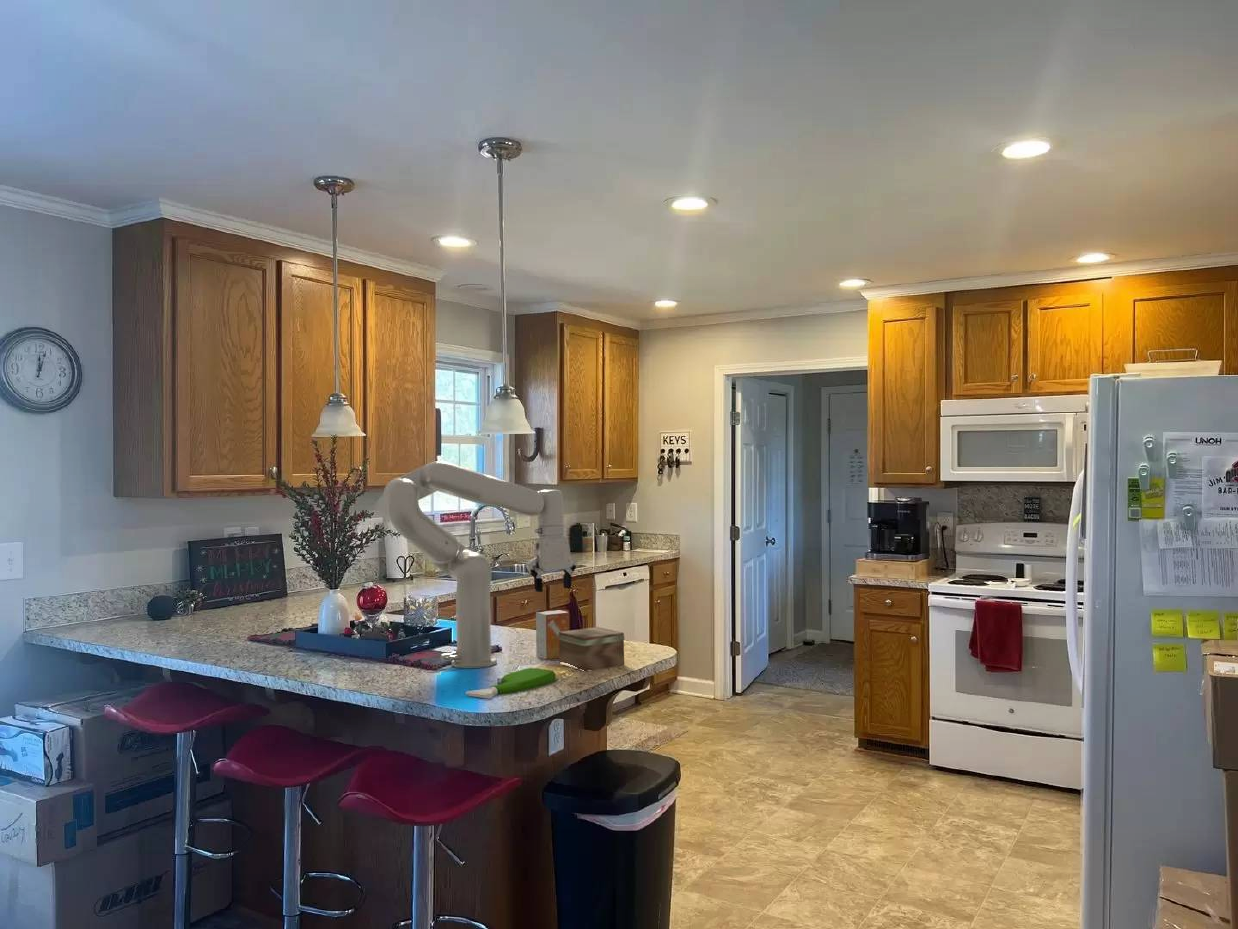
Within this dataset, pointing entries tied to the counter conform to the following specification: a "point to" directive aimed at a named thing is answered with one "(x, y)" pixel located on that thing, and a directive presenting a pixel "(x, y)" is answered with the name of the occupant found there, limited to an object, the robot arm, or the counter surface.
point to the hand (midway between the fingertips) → (553, 589)
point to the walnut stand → (592, 648)
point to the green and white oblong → (517, 682)
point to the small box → (550, 632)
